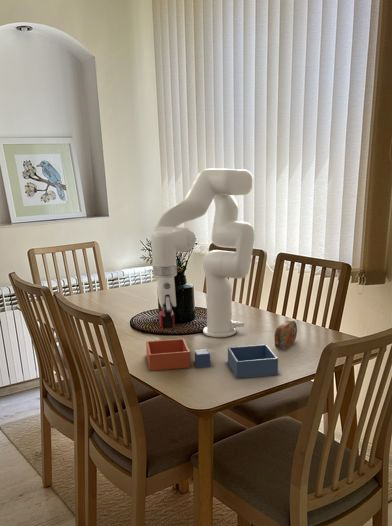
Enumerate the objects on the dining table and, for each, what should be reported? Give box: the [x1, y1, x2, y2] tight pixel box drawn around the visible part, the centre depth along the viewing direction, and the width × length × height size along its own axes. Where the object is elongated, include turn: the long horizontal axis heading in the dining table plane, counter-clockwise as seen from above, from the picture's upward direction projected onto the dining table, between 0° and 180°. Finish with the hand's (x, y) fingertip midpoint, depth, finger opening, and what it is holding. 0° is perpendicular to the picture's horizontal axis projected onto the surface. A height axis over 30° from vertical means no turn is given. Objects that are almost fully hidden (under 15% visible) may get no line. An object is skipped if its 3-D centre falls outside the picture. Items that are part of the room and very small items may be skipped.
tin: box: [274, 320, 298, 351], centre depth 195 cm, size 15×3×8 cm, turn 148°
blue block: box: [194, 348, 211, 368], centre depth 181 cm, size 4×4×4 cm
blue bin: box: [227, 344, 279, 379], centre depth 176 cm, size 13×13×6 cm
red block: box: [158, 310, 176, 329], centre depth 179 cm, size 4×4×4 cm
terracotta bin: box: [145, 338, 191, 372], centre depth 183 cm, size 13×13×6 cm
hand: (167, 324), depth 180 cm, fingers closed on red block, 4 cm apart
